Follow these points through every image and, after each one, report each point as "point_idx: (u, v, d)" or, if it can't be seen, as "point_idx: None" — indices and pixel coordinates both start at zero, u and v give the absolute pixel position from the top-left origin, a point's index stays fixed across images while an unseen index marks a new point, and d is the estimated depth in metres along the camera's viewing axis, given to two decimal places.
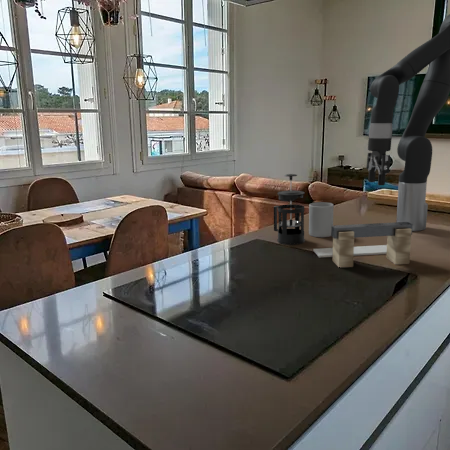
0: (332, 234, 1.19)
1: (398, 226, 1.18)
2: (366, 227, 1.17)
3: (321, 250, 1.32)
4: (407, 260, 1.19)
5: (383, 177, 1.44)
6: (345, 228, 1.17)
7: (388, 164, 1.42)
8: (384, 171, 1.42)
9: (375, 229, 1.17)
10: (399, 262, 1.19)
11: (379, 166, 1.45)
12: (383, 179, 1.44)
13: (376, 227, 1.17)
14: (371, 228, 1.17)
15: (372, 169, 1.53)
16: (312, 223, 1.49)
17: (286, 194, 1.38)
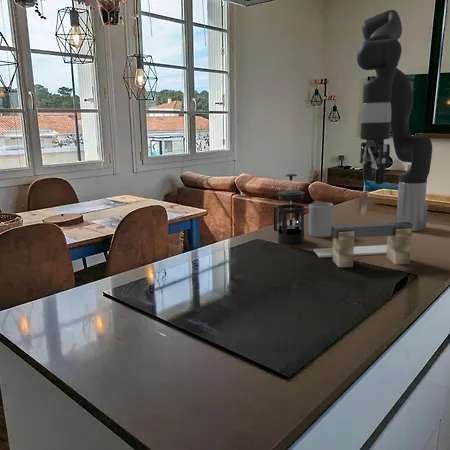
0: (332, 234, 1.19)
1: (398, 226, 1.18)
2: (366, 227, 1.17)
3: (321, 250, 1.32)
4: (407, 260, 1.19)
5: (381, 173, 1.10)
6: (345, 228, 1.17)
7: (387, 156, 1.07)
8: (382, 165, 1.08)
9: (375, 229, 1.17)
10: (399, 262, 1.19)
11: (376, 159, 1.11)
12: (381, 176, 1.10)
13: (376, 227, 1.17)
14: (371, 228, 1.17)
15: (367, 163, 1.19)
16: (312, 223, 1.49)
17: (286, 194, 1.38)
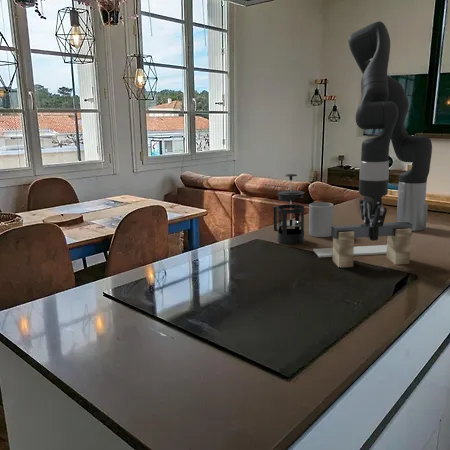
0: (332, 234, 1.19)
1: (398, 226, 1.18)
2: (366, 227, 1.17)
3: (321, 250, 1.32)
4: (407, 260, 1.19)
5: (376, 231, 1.16)
6: (345, 228, 1.17)
7: (382, 218, 1.13)
8: (376, 225, 1.14)
9: None
10: (399, 262, 1.19)
11: (372, 217, 1.16)
12: (376, 233, 1.16)
13: None
14: None
15: (369, 221, 1.20)
16: (312, 223, 1.49)
17: (286, 194, 1.38)
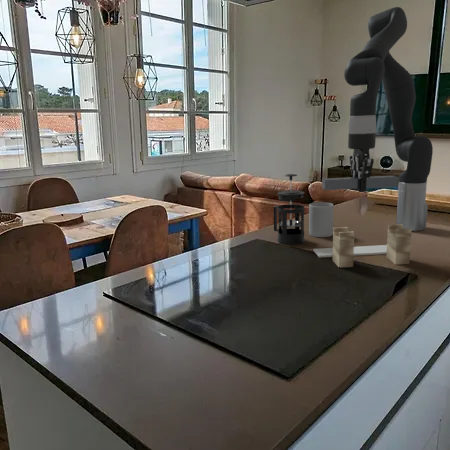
0: (323, 186, 1.26)
1: (385, 178, 1.25)
2: (355, 179, 1.24)
3: (321, 250, 1.32)
4: (407, 260, 1.19)
5: (364, 182, 1.23)
6: (335, 180, 1.24)
7: (370, 169, 1.20)
8: (364, 176, 1.21)
9: None
10: (399, 262, 1.19)
11: (360, 170, 1.23)
12: (364, 185, 1.23)
13: None
14: None
15: (358, 175, 1.27)
16: (312, 223, 1.49)
17: (286, 194, 1.38)
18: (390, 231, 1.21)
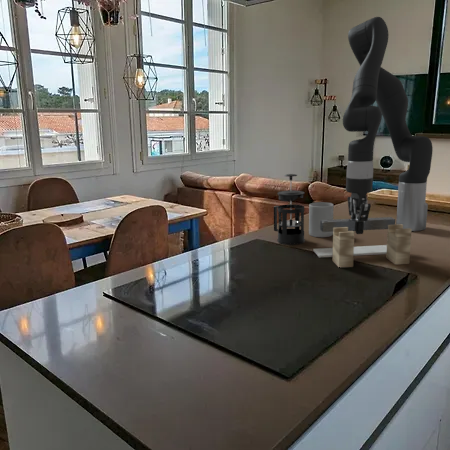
0: (321, 228, 1.29)
1: (382, 221, 1.28)
2: (352, 221, 1.27)
3: (321, 250, 1.32)
4: (407, 260, 1.19)
5: (361, 225, 1.26)
6: (333, 222, 1.27)
7: (367, 213, 1.23)
8: (361, 220, 1.24)
9: None
10: (399, 262, 1.19)
11: (357, 213, 1.26)
12: (361, 227, 1.26)
13: None
14: None
15: (355, 216, 1.30)
16: (312, 223, 1.49)
17: (286, 194, 1.38)
18: (390, 231, 1.21)
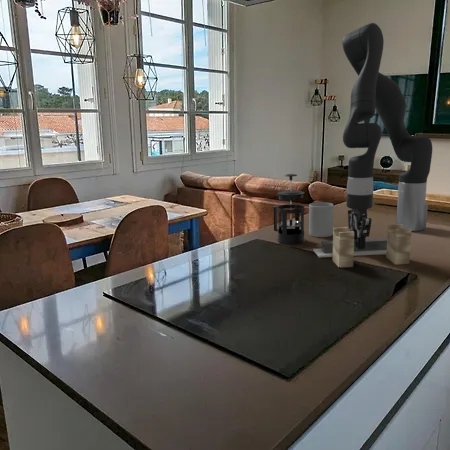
0: (322, 249, 1.31)
1: (382, 242, 1.29)
2: None
3: None
4: (407, 260, 1.19)
5: (363, 240, 1.26)
6: None
7: (368, 228, 1.23)
8: (363, 235, 1.24)
9: None
10: (399, 262, 1.19)
11: (358, 228, 1.26)
12: (363, 243, 1.26)
13: None
14: None
15: (355, 230, 1.32)
16: (312, 223, 1.49)
17: (286, 194, 1.38)
18: (390, 231, 1.21)
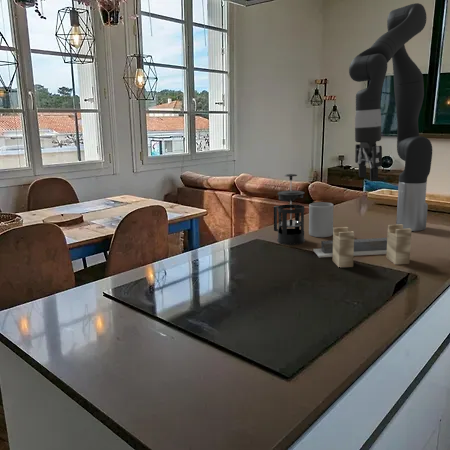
0: (322, 249, 1.31)
1: (382, 242, 1.29)
2: None
3: None
4: (407, 260, 1.19)
5: (375, 171, 1.26)
6: None
7: (380, 156, 1.23)
8: (376, 164, 1.24)
9: (361, 244, 1.29)
10: (399, 262, 1.19)
11: (370, 159, 1.26)
12: (376, 173, 1.26)
13: (362, 243, 1.29)
14: (357, 244, 1.29)
15: (362, 163, 1.35)
16: (312, 223, 1.49)
17: (286, 194, 1.38)
18: (390, 231, 1.21)
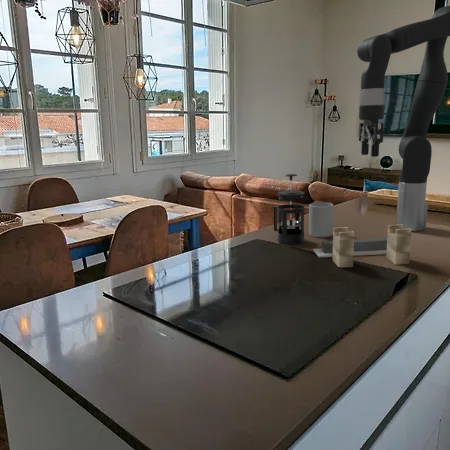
0: (322, 249, 1.31)
1: (382, 242, 1.29)
2: None
3: None
4: (407, 260, 1.19)
5: (376, 147, 1.32)
6: None
7: (381, 132, 1.30)
8: (377, 140, 1.30)
9: (361, 244, 1.29)
10: (399, 262, 1.19)
11: (372, 136, 1.33)
12: (377, 150, 1.33)
13: (362, 243, 1.29)
14: (357, 244, 1.29)
15: (365, 141, 1.41)
16: (312, 223, 1.49)
17: (286, 194, 1.38)
18: (390, 231, 1.21)
